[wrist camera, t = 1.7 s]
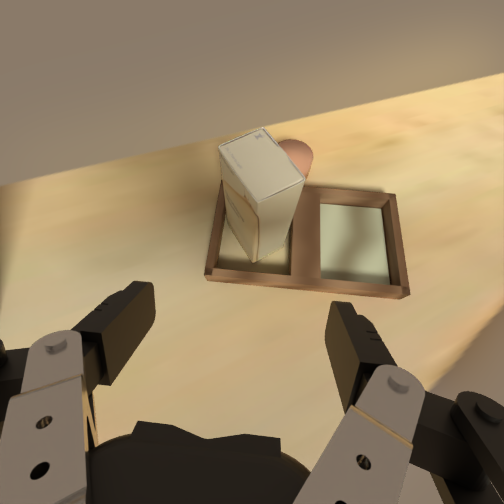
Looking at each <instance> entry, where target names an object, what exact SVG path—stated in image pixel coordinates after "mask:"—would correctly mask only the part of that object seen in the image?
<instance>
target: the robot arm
mask: <svg viewBox="0 0 504 504" xmlns="http://www.w3.org/2000/svg"><path fill="white" fill-rule="evenodd" d="M155 314H156V310H155V298H154V286H153V284H152V283H151V282H142V281H133V282H132V283H131V284H130V285H129V286H128V287H126V288H125V289H124V290H123V291H122V290H120V291H118V292H116V293H114V294H112V295H110V296H109V297H107V298H106V299H105V300H104V301H103V302H102V303H101V305H100V304H99V305H98V306H97V307H96V308H95V309H94V311H92V312H90V313H89V314H88V315H87V316H86V317H85V318H84V319H82V320H81V321H80V322H79V323H78V324H77V325H76V326H74V327H73V328H72V329H71V330H63V331H58V332H54V333H51V334H48V335H46V336H44V337H42V338H40V339H39V340H37V341H36V342H35V343H34V344H33V345H32V346H31V347H30V348H22V349H14V350H5V347H4V344H3V342H2V340H0V504H397V503H398V500H399V497H400V492H401V489H402V486H403V482H404V478H405V475H406V471H407V467H408V464H409V463H411V464H413V465H415V466H418V467H420V468H422V469H425V470H427V471H429V472H430V474H431V476H432V478H433V481H434V483H435V485H436V487H437V490H438V492H439V494H440V496H441V499H442V501H443V503H444V504H504V503H503V502H502V500H503V501H504V407H503V406H502V405H500V404H498V403H497V402H495V401H494V400H492V399H490V398H488V397H486V396H484V395H481V394H478V393H475V392H469V391H466V392H461V393H459V394H458V396H457V398H456V400H455V401H452V400H449V399H446V398H443V397H440V396H438V395H435V394H432V393H429V392H427V391H425V390H424V387H423V386H422V384H421V383H420V381H419V380H418V379H417V378H416V377H415V376H413V375H412V374H411V373H409V372H408V371H406V370H404V369H402V368H400V367H398V366H397V364H396V363H395V361H394V359H393V358H392V356H391V354H390V353H389V351H388V349H387V347H386V346H385V344H384V342H383V341H382V339H381V337H380V335H379V334H378V332H377V330H376V329H375V327H374V325H373V324H372V323H371V322H370V321H369V320H368V319H367V318H366V317H364V316H363V315H357V313H356V311H355V309H354V307H353V305H352V304H351V303H350V302H340V301H332V303H331V306H330V311H329V315H328V320H327V325H326V330H325V344H326V348H327V352H328V355H329V359H330V362H331V366H332V370H333V373H334V377H335V380H336V384H337V388H338V391H339V395H340V398H341V402H342V406H343V409H344V413H345V416H344V417H343V419H342V421H341V423H340V424H339V426H338V428H337V429H336V431H335V433H334V434H333V436H332V438H331V440H330V441H329V443H328V445H327V446H326V448H325V450H324V451H323V453H322V455H321V456H320V458H319V460H318V462H317V463H316V465H315V467H314V468H313V470H312V472H310V471H309V470H308V469H307V468H306V467H305V466H304V465H302V464H301V463H300V462H298V461H297V460H296V459H294V458H292V457H291V456H289V455H287V454H285V453H283V452H281V444H280V438H275V437H266V436H258V435H250V434H240V435H233V436H227V437H220V438H213V439H204V438H201V437H199V436H197V435H194V434H192V433H190V432H187V431H185V430H183V429H180V428H178V427H176V426H174V425H168V424H160V423H152V422H144V421H138V422H137V424H136V426H135V428H134V430H133V432H132V434H127V435H123V436H119V437H116V438H113V439H111V440H108V441H106V442H104V443H102V444H100V445H99V443H98V434H97V423H96V413H95V403H94V395H93V390H94V389H95V387H96V386H97V385H98V384H99V385H108V386H111V384H112V383H113V382H114V380H115V379H116V377H117V376H118V374H119V373H120V371H121V370H122V369H123V367H124V366H125V364H126V363H127V361H128V360H129V358H130V357H131V356H132V354H133V353H134V351H135V350H136V348H137V347H138V345H139V344H140V343H141V341H142V340H143V338H144V337H145V335H146V334H147V332H148V331H149V330H150V328H151V327H152V325H153V323H154V320H155ZM490 481H491V482H492V484H493V485H494V487H495V488H496V490H497V492H498V493H499V495H500V497H501V498H502V500H501V498H500V497H499V495H498V493H497V492H496V490H495V489H494V487H493V485H492V484H491V482H490Z"/></svg>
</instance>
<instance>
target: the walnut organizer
mask: <svg viewBox="0 0 504 504" xmlns="http://www.w3.org/2000/svg"><path fill="white" fill-rule="evenodd" d="M320 203H322V204H320ZM330 204H333V205H330ZM342 205H345V206H342ZM354 206H357V207H354ZM366 207H369V208H366ZM378 208H381V209H378ZM381 210H382V213H381ZM225 214H226V205H225V196H224V188H223V180H221V185H220V191H219V196H218V201H217V207H216V212H215V218H214V223H213V229H212V234H211V240H210V245H209V251H208V256H207V262H206V267H205V273H204V276H205V278H206V279H207V281H215V282H225V283H236V284H246V285H256V286H266V287H277V288H287V289H297V290H308V291H318V292H328V293H338V294H349V295H359V296H369V297H380V298H390V299H402V298H404V297H406V296H409V295H410V289H409V282H408V275H407V268H406V262H405V255H404V248H403V241H402V235H401V228H400V221H399V215H398V208H397V201H396V194H390V193H378V192H366V191H354V190H342V189H329V188H317V187H305V186H303V188H302V191H301V194H300V197H299V200H298V203H297V206H296V209H295V212H294V215H293V218H292V221H291V235H290V258H289V275H279V274H268V273H258V272H247V271H237V270H226V269H217V263H218V257H219V251H220V245H221V238H222V232H223V226H224V220H225ZM382 218H383V221H382ZM383 227H384V230H383ZM384 235H385V238H384ZM385 244H386V247H385ZM386 252H387V255H386ZM387 260H388V264H387ZM388 269H389V272H388ZM389 277H390V281H389Z"/></svg>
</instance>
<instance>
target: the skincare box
mask: <svg viewBox="0 0 504 504" xmlns="http://www.w3.org/2000/svg"><path fill="white" fill-rule="evenodd" d="M218 149H219V156H220V164H221V172H222V180H223V188H224V196H225V205H226V213H227V222H228V225H229V226H230V228H231V230H232V231H233V233H234V235H235V236H236V238H237V240H238V241H239V243H240V245H241V246H242V248H243V249H244V251H245V253H246V254H247V256H248V257H249V259H250V260H251V262H252V263H255V262H257V261H259V260H261V259H262V258H264V257H266V256H268V255H270V254H272V253H274V252H275V251H277V250H279V249H281V248H282V247H283V245H284V242H285V239H286V236H287V233H288V231H289V227H290V224H291V221H292V218H293V215H294V212H295V209H296V206H297V203H298V200H299V197H300V194H301V191H302V188H303V186H304V183H305V179H306V178H305V176H304V175H303V174H302V173H301V171H300V170H299V169H298V168H297V166H296V165H295V164H294V163H293V161H292V160H291V159H290V158H289V156H288V155H287V154H286V153H285V151H284V150H283V149H282V148H281V147H280V146H279V145H278V143H277V142H276V141H275V140H274V139H273V137H272V136H271V135H270V134H269V133H268V132H267V130H266V129H265V128H264V127H261V128H259V129H256V130H254V131H251V132H249V133H247V134H244V135H242V136H239V137H237V138H235V139H232V140H230V141H228V142H226V143H223V144H221V145H219V146H218Z"/></svg>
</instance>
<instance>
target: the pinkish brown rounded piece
mask: <svg viewBox="0 0 504 504" xmlns="http://www.w3.org/2000/svg"><path fill="white" fill-rule="evenodd" d="M278 145H279V146H280V147H281V148H282V149H283V150H284V151H285V153H286V154H287V155H288V156H289V158H290V159H291V160H292V161H293V163H294V164H295V165H296V166H297V168H298V169H299V170H300V171H301V173H302V174H303V175H304V176H305V178H306V179H307V177H308V174H309V171H310V167H311V164H312V161H313V152H312V150H311V148H310V147H309V146H308V145H307V144H305V143H304V142H301V141H298V140H285V141H282V142H280V143H278ZM306 179H305V180H306Z"/></svg>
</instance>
